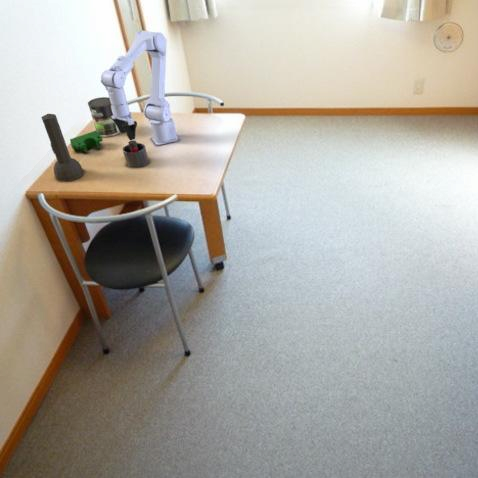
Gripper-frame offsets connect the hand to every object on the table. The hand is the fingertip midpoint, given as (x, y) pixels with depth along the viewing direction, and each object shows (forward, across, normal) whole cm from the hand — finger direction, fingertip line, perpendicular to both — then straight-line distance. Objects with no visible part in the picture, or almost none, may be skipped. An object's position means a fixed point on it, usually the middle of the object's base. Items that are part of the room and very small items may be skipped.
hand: (128, 136), depth 192 cm
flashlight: (+10, -5, -24) cm, 27 cm away
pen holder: (+10, +3, 0) cm, 11 cm away
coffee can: (+11, -32, +3) cm, 34 cm away
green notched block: (+10, -21, -10) cm, 25 cm away
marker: (+10, +3, 0) cm, 10 cm away
